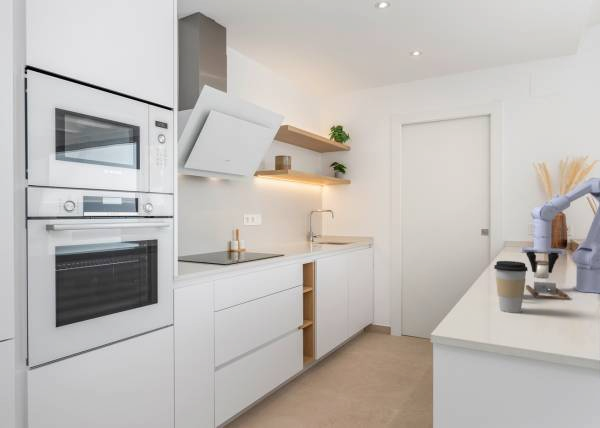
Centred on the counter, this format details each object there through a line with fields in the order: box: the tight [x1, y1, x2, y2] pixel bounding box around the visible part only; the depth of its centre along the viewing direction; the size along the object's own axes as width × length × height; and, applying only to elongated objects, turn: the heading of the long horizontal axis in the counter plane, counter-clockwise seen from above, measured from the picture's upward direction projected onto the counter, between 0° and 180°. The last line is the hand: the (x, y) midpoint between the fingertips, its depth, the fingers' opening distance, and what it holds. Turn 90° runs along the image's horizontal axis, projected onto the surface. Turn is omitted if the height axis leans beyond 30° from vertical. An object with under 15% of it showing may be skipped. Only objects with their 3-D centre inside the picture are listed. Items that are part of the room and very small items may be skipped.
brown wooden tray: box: [525, 284, 570, 301], centre depth 150 cm, size 10×16×2 cm, turn 162°
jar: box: [533, 259, 550, 279], centre depth 156 cm, size 5×5×6 cm
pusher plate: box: [533, 281, 557, 295], centre depth 148 cm, size 7×8×4 cm
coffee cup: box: [493, 260, 529, 314], centre depth 126 cm, size 9×9×15 cm
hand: (541, 272), depth 155 cm, fingers closed on jar, 5 cm apart
